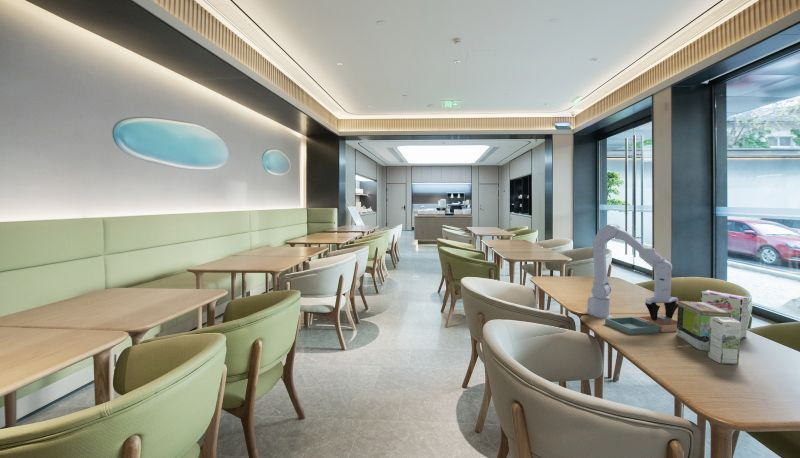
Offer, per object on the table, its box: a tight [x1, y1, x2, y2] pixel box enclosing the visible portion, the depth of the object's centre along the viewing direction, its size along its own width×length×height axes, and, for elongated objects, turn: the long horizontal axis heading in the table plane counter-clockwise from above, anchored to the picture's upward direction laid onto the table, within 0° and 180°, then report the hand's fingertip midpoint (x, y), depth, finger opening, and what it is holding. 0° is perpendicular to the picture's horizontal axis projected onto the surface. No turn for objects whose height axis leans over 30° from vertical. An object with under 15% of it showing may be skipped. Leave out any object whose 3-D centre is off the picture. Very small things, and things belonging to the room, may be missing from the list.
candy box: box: [700, 289, 750, 340], centre depth 148 cm, size 14×6×16 cm, turn 25°
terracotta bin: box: [634, 315, 677, 333], centre depth 156 cm, size 14×14×3 cm
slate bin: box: [604, 316, 660, 336], centre depth 153 cm, size 14×14×3 cm
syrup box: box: [707, 317, 741, 365], centre depth 121 cm, size 6×6×14 cm
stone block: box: [653, 314, 671, 326], centre depth 155 cm, size 5×4×4 cm
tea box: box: [676, 300, 731, 352], centre depth 136 cm, size 15×10×15 cm, turn 168°
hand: (661, 319), depth 156 cm, fingers open, 7 cm apart
